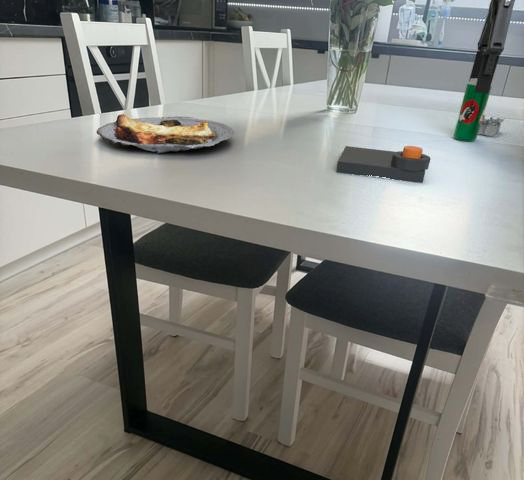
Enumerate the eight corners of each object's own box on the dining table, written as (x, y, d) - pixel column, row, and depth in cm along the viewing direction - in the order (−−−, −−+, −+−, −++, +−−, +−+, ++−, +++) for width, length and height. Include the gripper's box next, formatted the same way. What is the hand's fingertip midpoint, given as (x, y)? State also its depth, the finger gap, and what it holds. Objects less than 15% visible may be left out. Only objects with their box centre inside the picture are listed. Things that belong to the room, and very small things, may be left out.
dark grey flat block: (423, 166, 87) (428, 145, 85) (425, 184, 77) (430, 162, 75) (344, 156, 89) (347, 136, 87) (335, 173, 79) (338, 151, 77)
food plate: (83, 153, 81) (80, 131, 79) (114, 126, 100) (112, 107, 98) (232, 161, 82) (233, 139, 80) (234, 132, 101) (235, 114, 99)
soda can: (479, 142, 107) (497, 81, 100) (457, 141, 107) (473, 80, 100) (471, 137, 111) (488, 78, 104) (449, 136, 111) (465, 77, 104)
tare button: (420, 157, 79) (422, 147, 78) (420, 161, 76) (423, 151, 76) (401, 154, 79) (403, 144, 78) (401, 159, 77) (403, 148, 76)
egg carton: (471, 127, 124) (476, 109, 121) (502, 131, 120) (508, 113, 118) (461, 132, 116) (466, 113, 114) (493, 137, 113) (499, 118, 111)
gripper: (549, -43, 81) (504, 98, 93) (522, -32, 100) (488, 83, 113) (502, -46, 82) (464, 94, 94) (484, -34, 102) (455, 80, 114)
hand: (477, 89), depth 103 cm, fingers open, 13 cm apart
